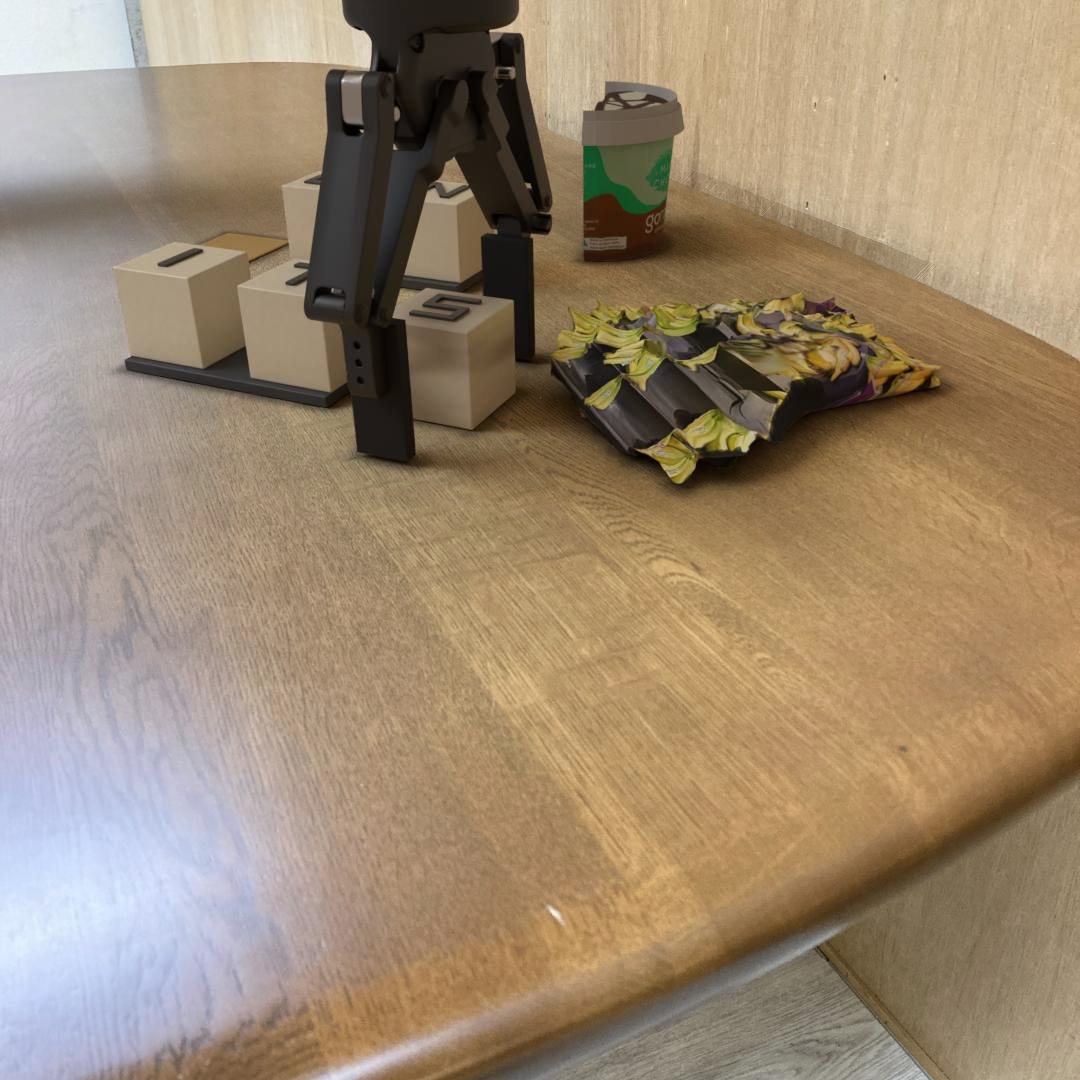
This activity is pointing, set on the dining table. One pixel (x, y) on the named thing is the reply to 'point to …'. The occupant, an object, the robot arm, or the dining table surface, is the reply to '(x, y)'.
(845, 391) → the banana patterned fabric
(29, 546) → the dining table surface
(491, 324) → the tile
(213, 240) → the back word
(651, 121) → the food container
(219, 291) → the front word
